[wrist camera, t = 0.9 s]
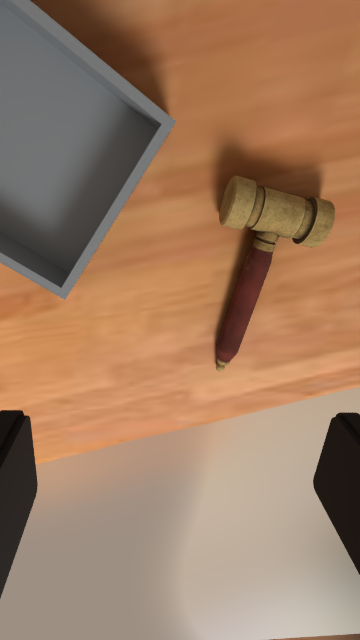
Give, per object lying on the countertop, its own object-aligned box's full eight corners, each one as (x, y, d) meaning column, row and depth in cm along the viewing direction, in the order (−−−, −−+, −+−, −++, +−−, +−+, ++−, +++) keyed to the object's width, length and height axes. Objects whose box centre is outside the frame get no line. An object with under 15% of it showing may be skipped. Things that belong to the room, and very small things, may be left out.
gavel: (263, 388, 40) (180, 375, 38) (252, 366, 44) (177, 353, 42) (343, 205, 31) (240, 176, 29) (320, 198, 35) (228, 173, 33)
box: (-18, -26, 26) (-53, -69, 22) (171, 129, 31) (175, 121, 27) (-102, 178, 31) (-145, 178, 26) (75, 284, 36) (64, 299, 31)
